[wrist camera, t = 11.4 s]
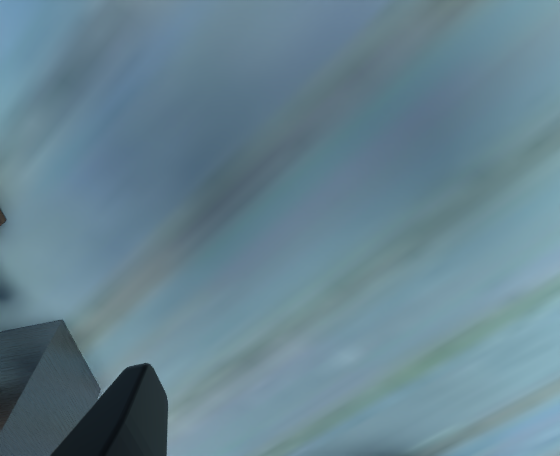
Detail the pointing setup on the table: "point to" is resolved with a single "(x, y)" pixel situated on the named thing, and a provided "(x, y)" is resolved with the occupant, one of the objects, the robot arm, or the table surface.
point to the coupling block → (41, 388)
